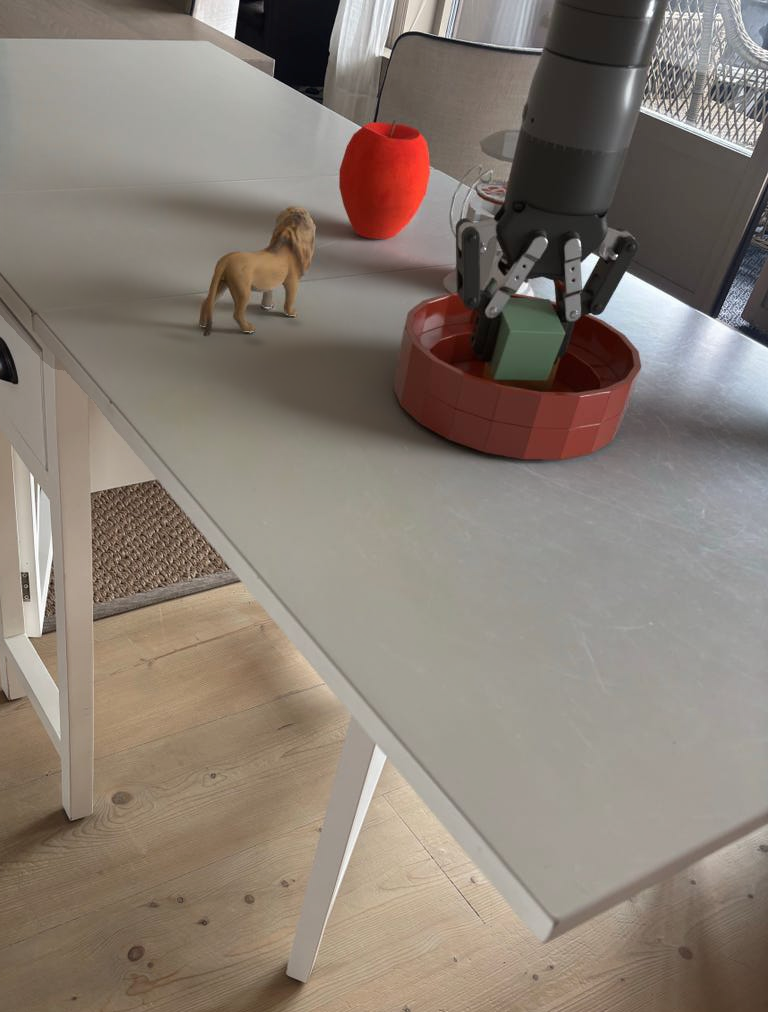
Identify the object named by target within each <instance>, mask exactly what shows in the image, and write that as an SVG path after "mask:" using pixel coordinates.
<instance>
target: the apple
mask: <svg viewBox="0 0 768 1012" xmlns="http://www.w3.org/2000/svg"><path fill="white" fill-rule="evenodd" d="M430 176H431V166H430V155H429V148H428V143H427V140H426V139H425V137H424V136H423V135H422V134H421V132H420V131H419V130H418V129H416V128H414V127H412V126H409V125H406V124H399V123H398V124H397V121H396V120H393V122H392V123H387V122H370V123H366V124H365V125H363V126H362V127H361V128H359V129H358V130H357V131H356V132H354V133H353V135H352V136H351V138H350V140H349V141H348V143H347V145H346V148H345V150H344V154H343V157H342V160H341V164H340V166H339V177H338V179H339V182H338V183H339V184H338V188H339V192H340V196H341V200H342V204H343V207H344V210H345V213H346V215H347V218H348V220H349V223H350V225H351V227H352V229H353V230H354V232H355V233H356V234H357V235H358V236H360V237H362V238H367V239H377V240H388V239H392V238H394V237H395V236H397V235H398V234H399V233H400V232H401V231H402V230H404V228H406V226H407V225H408V224H409V223H411V220H412V219H413V218H414V216H415V215H416V213H417V212H418V211H419V208H420V207H421V204H422V203H423V201H424V199H425V196H426V194H427V190H428V185H429V181H430Z"/></svg>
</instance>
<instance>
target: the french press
mask: <svg viewBox="0 0 768 1012" xmlns="http://www.w3.org/2000/svg"><path fill="white" fill-rule="evenodd" d="M551 14H552V11H548V12H546V13H544V14H543V15H542V17H541V19H540V21H539V27H542V28H544V29H547V30H548V26H549V22H550V18H551ZM544 46H545V45H543V47H544ZM519 133H520V128H508V129H504V130H499V131H496V132H493V133H492V134H490V135H488V136H486V137H484V138H483V139H482V140H480V141H479V146H480V149H481V152H482V153H483V154H485V155H486V156H488V157H491V158H493V159H495V160H498V161H502V162H506V163H511V164H512V162H513V158H514V154H515V150H516V145H517V141H518V137H519ZM477 168H479V171H478V177H477V178H476V179H475V181H474V182H473V184H472V185H471V187H469V189H468V191H467V193H466V196H465V197H464V200H463V203H462V207H461V211H460V216H459V220H461V219H463V218H464V213H465V210H466V205H467V202H468V206H467V211H466V216H465V218H466V219H469V220H470V221H471V223H474V222H480V221H486V220H491V219H494V217H493V216H495V215H496V213H497V212H498V211H499V209H500V208H501V206H502V204H503V202H504V200H505V195H506V189H507V184H508V180H507V181H506V180H502V179H501V180H500V179H498V180H497V179H496V180H493V177H494V170H493V169H487V170H485V171H484V172H483V165H482V164H479V163H477V164H476V165H475V166H473V167H472V168H470V169H469V170H468V171H466V173H465V174H464V175H463V177H462V178H461V180H460V181H459V183H458V185H457V187H456V188H455V191H454V194H453V196H452V199H451V204H450V209H449V226H450V230H451V233H452V234H453V236H454V238H455V239H456V231H455V230H454V224H453V223H454V222H453V213H454V207H455V200H456V197H457V195H458V194H459V193H458V192H459V190H460V188H461V186H462V185H463V183H464V182H465V180H466V179H467V177H468V176H469V175H470V173H472V172H473V171H475V170H476V169H477ZM482 172H483V173H482ZM489 173H490V175H489V178H488V180H485V179H484V178H483V177H485V176H486V175H488V174H489ZM479 181H480V183H479ZM474 188H475V192H476V196H475V197H473V198H472V199H470V200H469V198H470V195H471V193H472V191H473V189H474ZM468 200H469V201H468ZM474 208H478V209H482V210H484V211H485V212H487V213H488V214H490V215H491V216H488V215H487V214H483V213H480V214H479V213H476V212H477V211H476V209H474ZM501 251H502V250H501V247H500V245H499V243H498V240H497V238H496V236H495V237H493V238H492V239H491V240H490V241H489V244H488V248H487V250H486V252H485V253H483V254H481V255H480V289H481V290H482V288H483V286H484V285H485V283H486V281H487V280H488V278H489V276H490V270H491V268H492V266H493V264H494V263H495V261H496V259H497V258H498V256H499V254H500V253H501ZM442 282H443V287H444V288H445V289H446V290H447V291H448V293H455V292H457V281H456V266H455V268H454V270H452V271H451V272H450V273H448V274H447V275H446V276H445V277H444V278H443V279H442ZM515 294H521V295H527V296H533V297H536V296H535V292H534V290H533V288H532V287H531V285H530V279H525V280H524V281H523V283H522V285H521V286H520V288H519V289H518V291H517V292H516V293H515Z"/></svg>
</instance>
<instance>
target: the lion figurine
mask: <svg viewBox="0 0 768 1012" xmlns="http://www.w3.org/2000/svg"><path fill="white" fill-rule="evenodd" d="M275 222H276V223H275V224H274V229H273V231H272V234H271V235H272V236H271V238H270V242H269V245H268V246H267V247H265V248H263V249H260V250H257V251H252V252H246V251H232V252H228V253H226V254H225V255H223V256H222V257H221V258H219V260H217V262H216V264H215V267H214V272H213V275H212V278H211V281H210V287H209V290H208V294H207V296H206V298H205V299H204V300H203V301H202V303H201V305H200V313H199V319H198V325H199V326H200V325H201V326H205V327H206V328H204V331H203V333H202V336H203V337H209V336H210V335H211V334H212V331H213V326H212V324H213V325H214V322H213V315H214V314H213V312H214V305H215V304H216V303H217V302H218V301H219V300H220V299H221V298H222V297H223V295H224V294H225V293H226V291H227V290H229V293H230V296H231V298H232V301H233V304H234V311H233V315H232V319H233V320H234V322H235V323H236V324H237V325H238V328H239V329H240V331H242V332H243V331H249V332H250V331H254V330H255V331H256V328H255V326H254V325H253V324H252V323H247V321H246V318H245V312H246V309H247V306H248V303H249V301H250V298H251V294H252V293H251V292H255V293H262V298H261V303H260V306H261V305H263V306H264V307H272V306H273V305H275V303H274V298H273V293H274V290H275V289H276V288H279V287H280V286H281V285H282V286H283V289H284V293H285V298H284V303H283V307H282V308H283V313H284V312H285V313H286V314H288V315H296V314H297V315H298V311H297V310H296V309H295V308H293V307H294V304H295V301H296V296H297V293H298V289H299V280H301V279H302V277H304V276H305V275H307V273H308V271H309V269H310V266H311V264H312V257H313V254H314V247H315V242H316V234H315V233H316V228H317V227H316V224H315V222H313V219H312V217H311V216H310V213H309V211H307V210H306V209H304V208H302V207H298V206H297V207H296V206H288V207H286V208H285V210H281V211H280V212H279V213H277V215H276V216H275ZM263 309H264V310H266V309H265V308H263ZM272 309H273V308H271V309H270V310H272ZM285 313H284V314H285ZM285 316H286V317H290V318H296V317H297V316H294V317H292V316H287V315H285ZM201 326H200V327H201ZM255 331H254V332H255Z"/></svg>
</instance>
